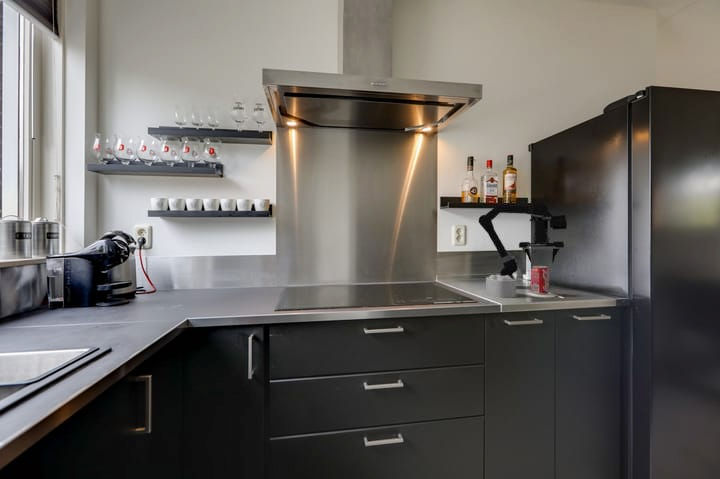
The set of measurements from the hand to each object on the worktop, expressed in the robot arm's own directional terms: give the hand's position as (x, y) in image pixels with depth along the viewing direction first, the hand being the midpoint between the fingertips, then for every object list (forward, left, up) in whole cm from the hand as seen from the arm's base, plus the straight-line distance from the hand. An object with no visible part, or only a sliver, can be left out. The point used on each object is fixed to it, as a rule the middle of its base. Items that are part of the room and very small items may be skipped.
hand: (541, 262), depth 151 cm
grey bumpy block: (-14, -26, -14) cm, 32 cm away
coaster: (+1, -16, -13) cm, 20 cm away
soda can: (+1, -15, -13) cm, 20 cm away
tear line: (+6, -13, -13) cm, 19 cm away
